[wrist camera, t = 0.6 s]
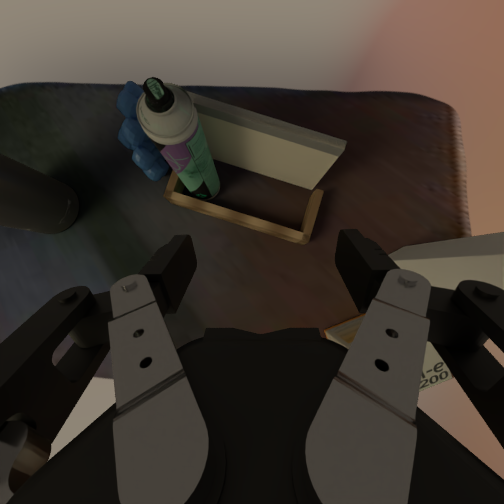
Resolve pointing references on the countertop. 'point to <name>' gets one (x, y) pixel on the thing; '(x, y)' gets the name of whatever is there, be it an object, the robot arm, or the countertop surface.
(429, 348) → the supplement box
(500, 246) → the milk
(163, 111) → the spray can
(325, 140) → the cream thin rectangular board
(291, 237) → the wooden u-shaped bracket
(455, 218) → the countertop surface
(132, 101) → the grapes
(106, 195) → the countertop surface
